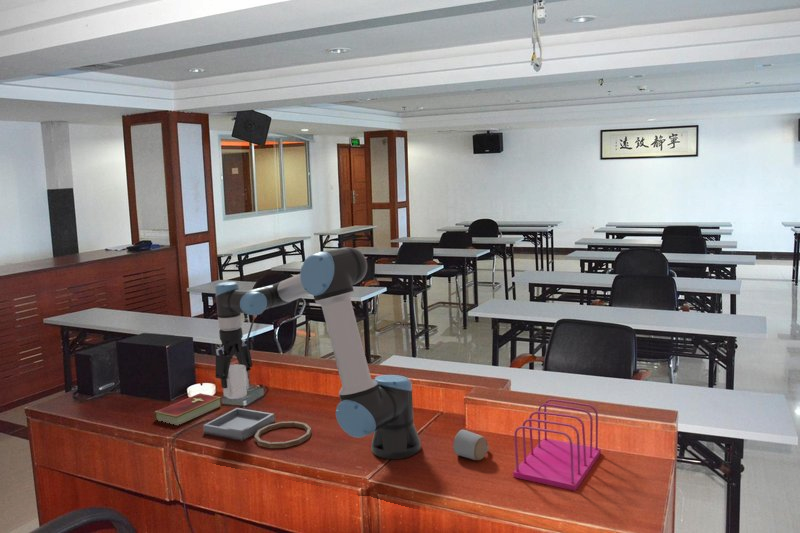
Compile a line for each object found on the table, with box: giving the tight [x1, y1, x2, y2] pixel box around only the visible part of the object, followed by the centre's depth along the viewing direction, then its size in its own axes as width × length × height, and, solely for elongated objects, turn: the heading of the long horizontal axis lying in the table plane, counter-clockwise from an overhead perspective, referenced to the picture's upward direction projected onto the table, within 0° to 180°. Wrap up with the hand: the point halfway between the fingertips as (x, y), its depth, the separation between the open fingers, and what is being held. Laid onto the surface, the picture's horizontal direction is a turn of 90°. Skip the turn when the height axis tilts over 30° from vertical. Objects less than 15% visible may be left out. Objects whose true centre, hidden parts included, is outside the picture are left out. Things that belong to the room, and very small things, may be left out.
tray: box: [202, 407, 276, 442], centre depth 228 cm, size 17×17×3 cm
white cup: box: [226, 363, 248, 400], centre depth 226 cm, size 8×8×10 cm
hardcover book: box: [154, 392, 222, 426], centre depth 244 cm, size 12×21×4 cm, turn 148°
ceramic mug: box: [453, 429, 490, 461], centre depth 197 cm, size 11×8×8 cm
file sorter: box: [513, 398, 602, 491], centre depth 187 cm, size 17×25×16 cm
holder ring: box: [253, 420, 312, 449], centre depth 218 cm, size 18×18×2 cm
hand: (236, 392), depth 226 cm, fingers closed on white cup, 8 cm apart
